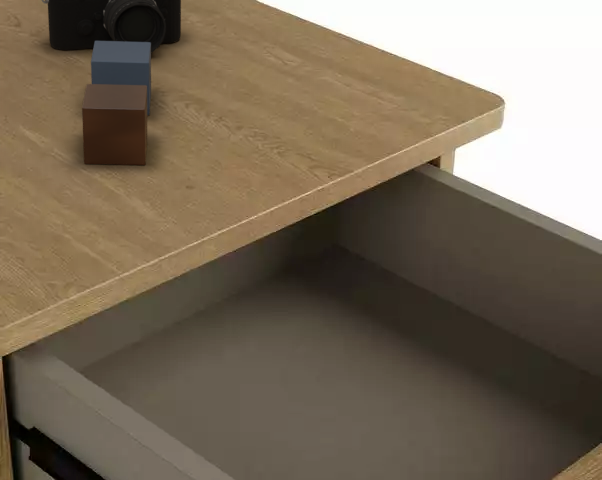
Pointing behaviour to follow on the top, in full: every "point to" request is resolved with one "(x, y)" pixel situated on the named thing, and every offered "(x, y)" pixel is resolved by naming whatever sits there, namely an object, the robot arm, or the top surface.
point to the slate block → (122, 64)
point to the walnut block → (115, 124)
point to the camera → (112, 22)
